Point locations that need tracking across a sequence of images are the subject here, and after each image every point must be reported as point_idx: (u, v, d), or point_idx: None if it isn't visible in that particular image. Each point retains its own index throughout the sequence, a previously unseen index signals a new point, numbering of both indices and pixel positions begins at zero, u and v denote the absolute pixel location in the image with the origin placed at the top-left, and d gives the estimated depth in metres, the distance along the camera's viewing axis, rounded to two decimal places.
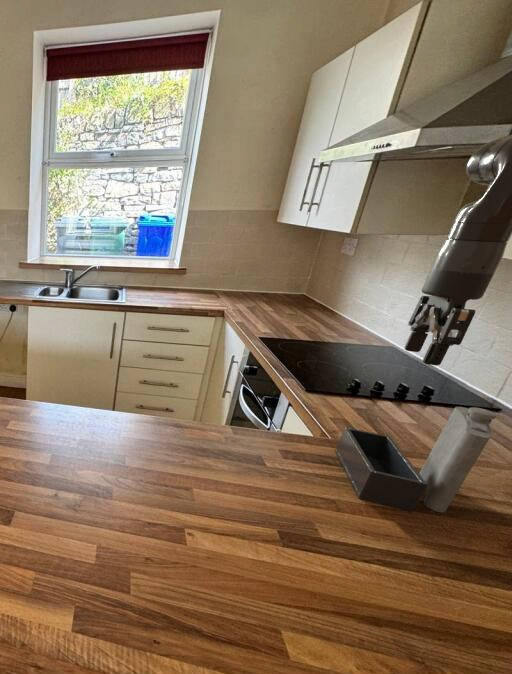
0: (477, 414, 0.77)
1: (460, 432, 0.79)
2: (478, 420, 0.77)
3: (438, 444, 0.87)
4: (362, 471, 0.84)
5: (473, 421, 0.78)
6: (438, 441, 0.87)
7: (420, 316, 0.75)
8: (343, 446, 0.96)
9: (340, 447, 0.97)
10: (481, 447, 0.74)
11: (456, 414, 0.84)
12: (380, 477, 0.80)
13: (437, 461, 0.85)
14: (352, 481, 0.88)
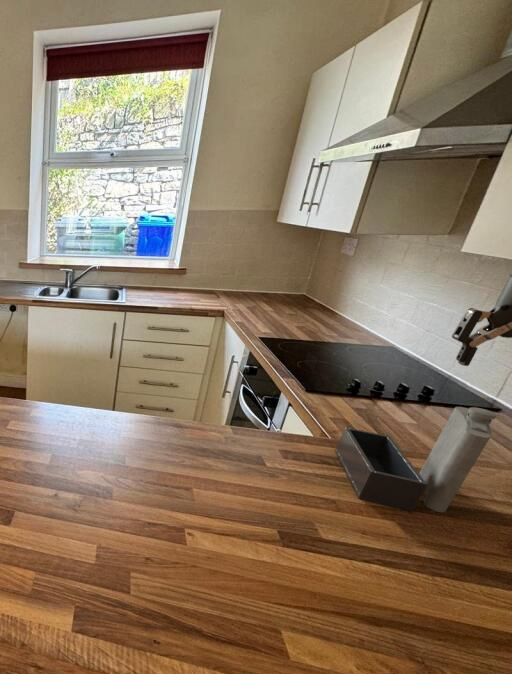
0: (477, 414, 0.77)
1: (460, 432, 0.79)
2: (478, 420, 0.77)
3: (438, 444, 0.87)
4: (362, 471, 0.84)
5: (473, 421, 0.78)
6: (438, 441, 0.87)
7: None
8: (343, 446, 0.96)
9: (340, 447, 0.97)
10: (481, 447, 0.74)
11: (456, 414, 0.84)
12: (380, 477, 0.80)
13: (437, 461, 0.85)
14: (352, 481, 0.88)
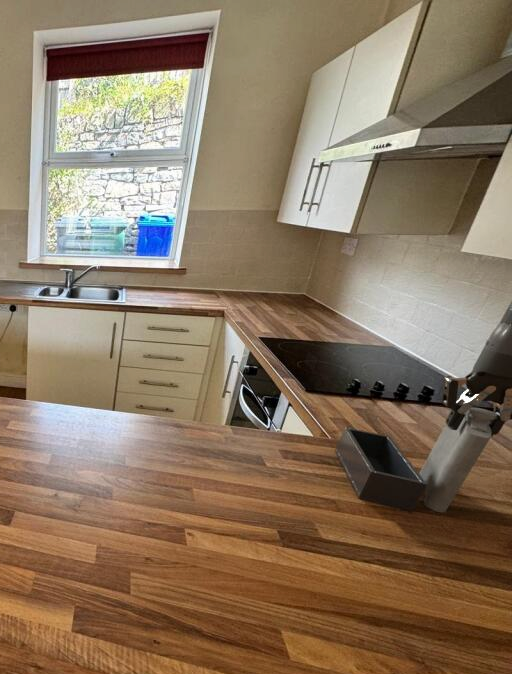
0: (477, 414, 0.77)
1: (460, 432, 0.79)
2: (478, 420, 0.77)
3: (438, 444, 0.87)
4: (362, 471, 0.84)
5: (473, 421, 0.78)
6: (438, 441, 0.87)
7: None
8: (343, 446, 0.96)
9: (340, 447, 0.97)
10: (481, 447, 0.74)
11: None
12: (380, 477, 0.80)
13: (437, 461, 0.85)
14: (352, 481, 0.88)
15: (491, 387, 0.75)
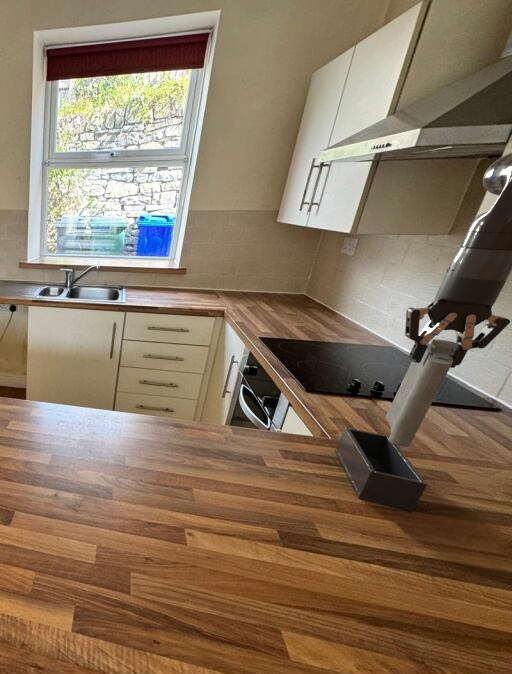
0: (439, 344, 0.76)
1: (423, 364, 0.78)
2: (441, 350, 0.76)
3: (404, 382, 0.86)
4: (362, 471, 0.84)
5: (436, 352, 0.77)
6: (404, 380, 0.86)
7: None
8: (343, 446, 0.96)
9: (340, 447, 0.97)
10: (442, 375, 0.73)
11: None
12: (380, 477, 0.80)
13: (402, 399, 0.84)
14: (352, 481, 0.88)
15: (452, 314, 0.74)
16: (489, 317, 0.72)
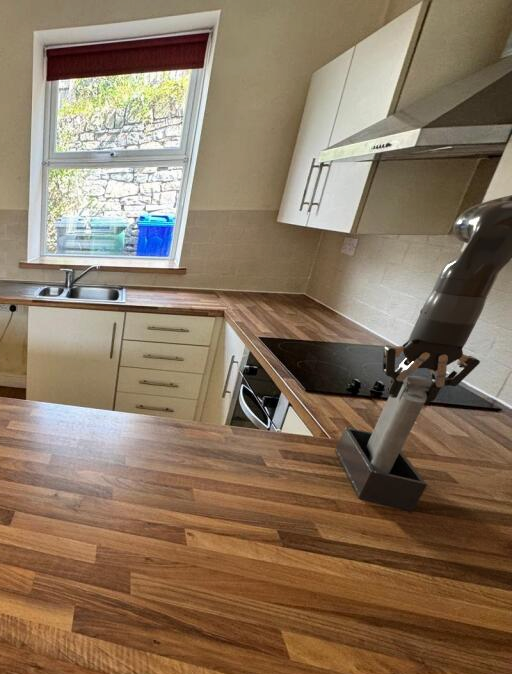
0: (414, 381, 0.80)
1: (400, 400, 0.82)
2: (415, 387, 0.80)
3: (383, 414, 0.89)
4: (362, 471, 0.84)
5: (411, 388, 0.80)
6: (383, 411, 0.90)
7: None
8: (343, 446, 0.96)
9: (340, 447, 0.97)
10: (416, 412, 0.76)
11: None
12: (380, 477, 0.80)
13: (381, 430, 0.88)
14: (352, 481, 0.88)
15: (425, 354, 0.77)
16: (460, 357, 0.76)
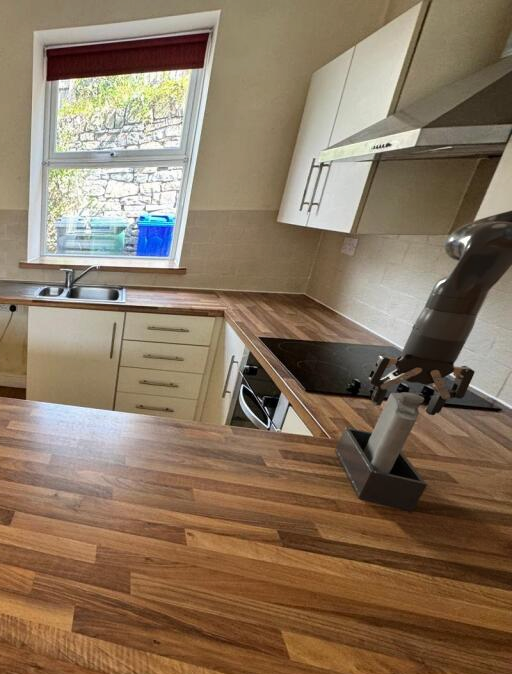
0: (407, 398, 0.81)
1: (392, 416, 0.83)
2: (408, 404, 0.81)
3: (376, 428, 0.91)
4: (362, 471, 0.84)
5: (403, 405, 0.82)
6: (376, 426, 0.91)
7: None
8: (343, 446, 0.96)
9: (340, 447, 0.97)
10: (408, 429, 0.78)
11: (391, 399, 0.88)
12: (380, 477, 0.80)
13: (374, 445, 0.89)
14: (352, 481, 0.88)
15: (417, 369, 0.78)
16: None
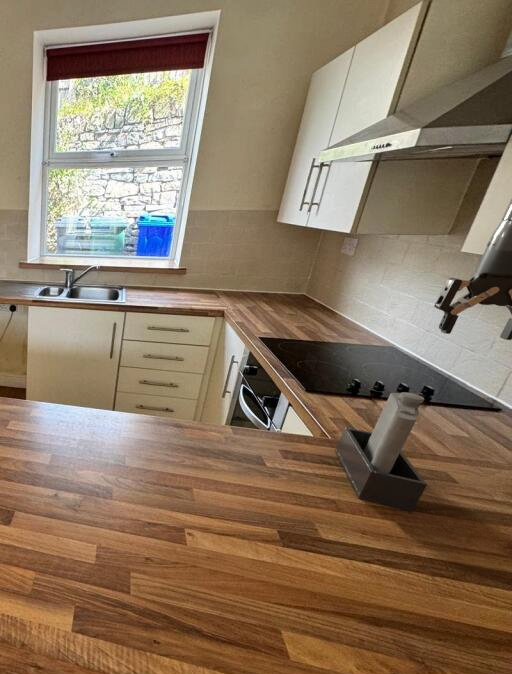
0: (407, 398, 0.81)
1: (392, 416, 0.83)
2: (408, 404, 0.81)
3: (376, 428, 0.91)
4: (362, 471, 0.84)
5: (403, 405, 0.82)
6: (376, 426, 0.91)
7: None
8: (343, 446, 0.96)
9: (340, 447, 0.97)
10: (408, 429, 0.78)
11: (391, 399, 0.88)
12: (380, 477, 0.80)
13: (374, 445, 0.89)
14: (352, 481, 0.88)
15: (494, 288, 0.73)
16: None
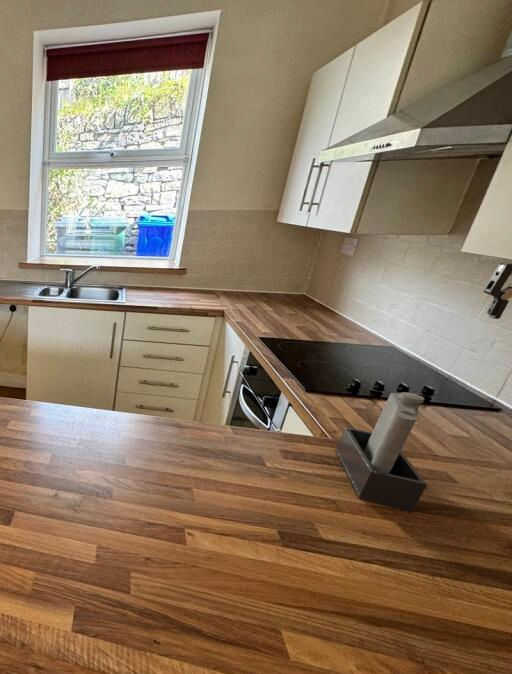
0: (407, 398, 0.81)
1: (392, 416, 0.83)
2: (408, 404, 0.81)
3: (376, 428, 0.91)
4: (362, 471, 0.84)
5: (403, 405, 0.82)
6: (376, 426, 0.91)
7: None
8: (343, 446, 0.96)
9: (340, 447, 0.97)
10: (408, 429, 0.78)
11: (391, 399, 0.88)
12: (380, 477, 0.80)
13: (374, 445, 0.89)
14: (352, 481, 0.88)
15: None
16: None
